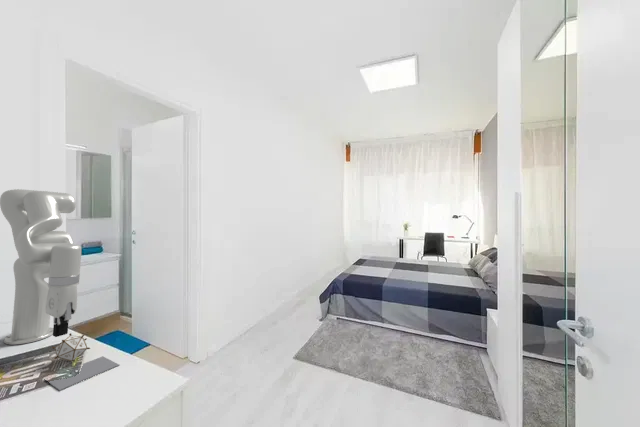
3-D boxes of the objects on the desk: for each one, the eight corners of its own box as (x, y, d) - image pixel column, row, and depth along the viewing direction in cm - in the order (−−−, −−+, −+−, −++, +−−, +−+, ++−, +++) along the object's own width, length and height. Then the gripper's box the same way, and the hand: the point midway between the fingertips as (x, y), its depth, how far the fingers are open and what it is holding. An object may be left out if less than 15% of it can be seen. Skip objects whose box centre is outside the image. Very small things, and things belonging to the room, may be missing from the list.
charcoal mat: (43, 379, 72) (43, 378, 72) (102, 357, 85) (102, 356, 85) (59, 391, 68) (59, 389, 68) (119, 365, 80) (119, 364, 81)
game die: (78, 369, 84) (103, 342, 86) (51, 374, 76) (79, 344, 79) (64, 351, 86) (88, 325, 89) (36, 354, 78) (64, 325, 81)
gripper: (39, 280, 87) (35, 334, 86) (59, 286, 80) (54, 344, 79) (68, 276, 93) (64, 326, 93) (89, 281, 87) (85, 335, 86)
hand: (60, 334), depth 86 cm, fingers closed
